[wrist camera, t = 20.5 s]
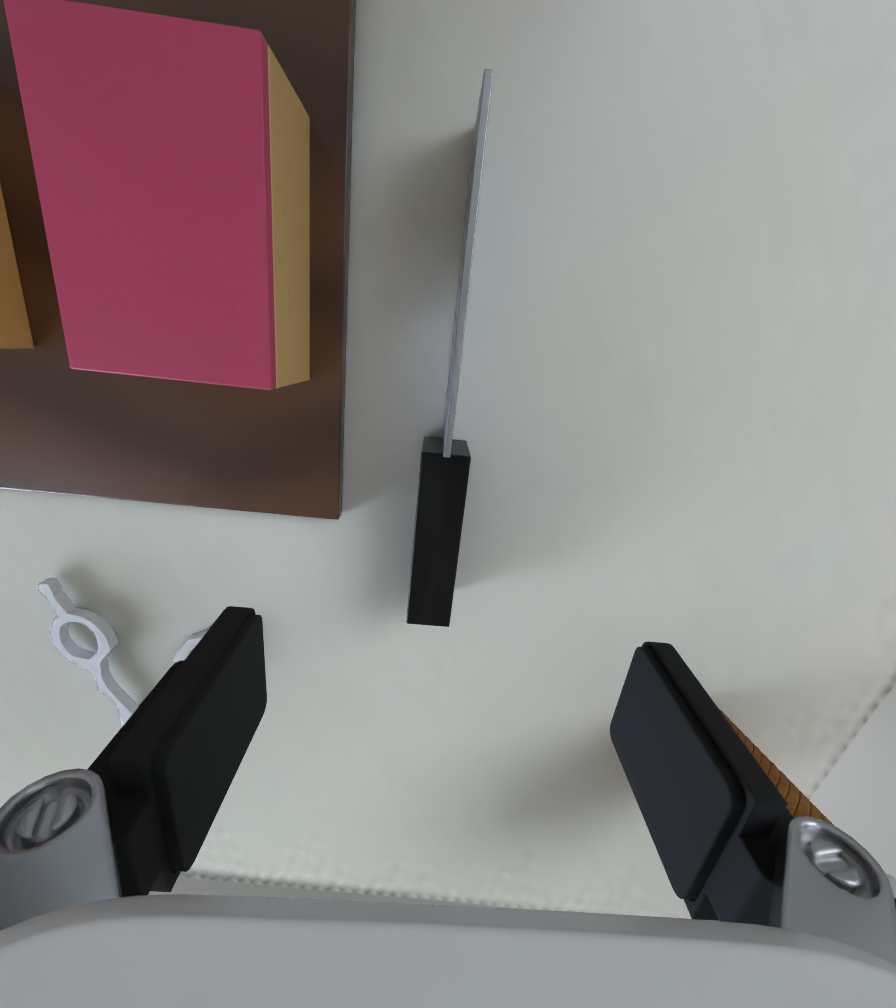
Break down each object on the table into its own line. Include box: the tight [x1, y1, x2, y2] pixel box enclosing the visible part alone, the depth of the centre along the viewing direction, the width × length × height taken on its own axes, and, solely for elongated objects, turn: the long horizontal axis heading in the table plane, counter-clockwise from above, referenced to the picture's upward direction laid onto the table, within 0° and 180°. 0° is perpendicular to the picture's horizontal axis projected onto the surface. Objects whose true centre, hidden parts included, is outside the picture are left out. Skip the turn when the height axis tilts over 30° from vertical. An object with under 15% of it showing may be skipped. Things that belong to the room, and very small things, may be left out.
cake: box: [4, 0, 310, 390], centre depth 16 cm, size 10×7×5 cm
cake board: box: [0, 0, 356, 519], centre depth 19 cm, size 22×19×1 cm
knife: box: [407, 69, 493, 627], centre depth 20 cm, size 22×2×4 cm, turn 174°
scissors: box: [38, 578, 208, 727], centre depth 28 cm, size 11×1×20 cm
